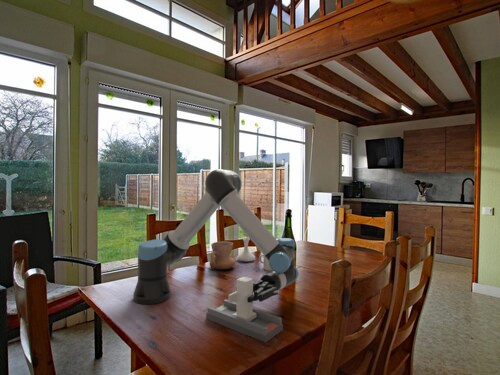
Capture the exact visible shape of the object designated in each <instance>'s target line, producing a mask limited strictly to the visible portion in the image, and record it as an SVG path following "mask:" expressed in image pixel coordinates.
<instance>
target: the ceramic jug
mask: <svg viewBox="0 0 500 375" xmlns="http://www.w3.org/2000/svg"><path fill="white" fill-rule="evenodd" d="M210 245H211V250H212V251H211V253H210V261H209V266H210V267H211V268H213V269H214V270H219V271H220V270H221V271H223V270H224V271H225V270H229V269H232V268H233V267H234V266H235V264H236V261H235V259H234V258H233V257H231V253H232V252H233V248H234V247H233V246H234V243H233V242H231V241H215V242H212V243H211V244H210Z"/></svg>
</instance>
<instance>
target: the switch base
mask: <svg viewBox="0 0 500 375" xmlns="http://www.w3.org/2000/svg"><path fill="white" fill-rule="evenodd" d="M236 304H237V302H236V301H234V302H232V303H228V299H227V298H226V299H224V300H223V304H222V305H219V306H218V307H215V308H214V307H212V306H208V307H207V310H206V311H207V312H206V314H205V316H206V317H205V319H206V320H209V321H212V322H214V323H216V324H219V325H221V326H224V327H225V328H228V329H231V330H234V331H236V332H239V333H242V334H243V335H246V336H247V337H250V336H251V338H253V337H254V339H255V338H257V339H256V340H258V339H259V340H258V341H260V340H261V342H263V341H264V342H263V343H265V342H267V341H268V340H269V341H271V340H272V339H273V338H275V337H276V336H277V335H278V333H279V332H280V331H281V332H282V331H284V324H283V323H282V320H283V319H282V317H280V316H277V315H274V314H271V313H267V312H265V311H262V310H258V309H256V308H253V312H255V313H257V317H256V318H254V319H253V320H251V321H247V320H245V319H242V318H239V317H236V316H234V315H232V314H234V313H236ZM281 332H280V333H281ZM280 333H279V334H280ZM276 334H277V335H276ZM275 335H276V336H275ZM274 336H275V337H274ZM272 337H273V338H272ZM271 338H272V339H271ZM270 339H271V340H270ZM269 341H268V342H269ZM268 342H267V343H268Z"/></svg>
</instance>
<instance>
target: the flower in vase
mask: <svg viewBox="0 0 500 375" xmlns="http://www.w3.org/2000/svg"><path fill="white" fill-rule="evenodd" d="M242 234H243V236H244V237H243V238H242V241H243V244H244V247H243V248H244V249H243V251H242V252H240V253H239V254H238V255H237V256H236V259H237V261H240V262H252V261H255V259H256V256H255V255H254V254H253V253H252V252H250V251H249V241H251V239H250V238H249V237H248V236H247V235H246V233H245V232H244V233H242Z"/></svg>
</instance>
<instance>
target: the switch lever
mask: <svg viewBox="0 0 500 375" xmlns="http://www.w3.org/2000/svg"><path fill="white" fill-rule="evenodd" d="M253 282H254V278H251V277H248V276H242V277H240V278H237V279H236V287H237V300H236V303H237V304H236V313H234V314H232V315H234V316H236V317H239V318H242V319H245V320H247V321H251V320H253V319H254V318H256V317H257V313H255V312H253V309H254V306H253V304H254V303H253V302H254V301H253V302H250V303H248V304H246V305H244V306H242V307H239V298H241V297H243V296H245V295H247V294H249V293H253V294H254V292H253Z"/></svg>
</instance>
